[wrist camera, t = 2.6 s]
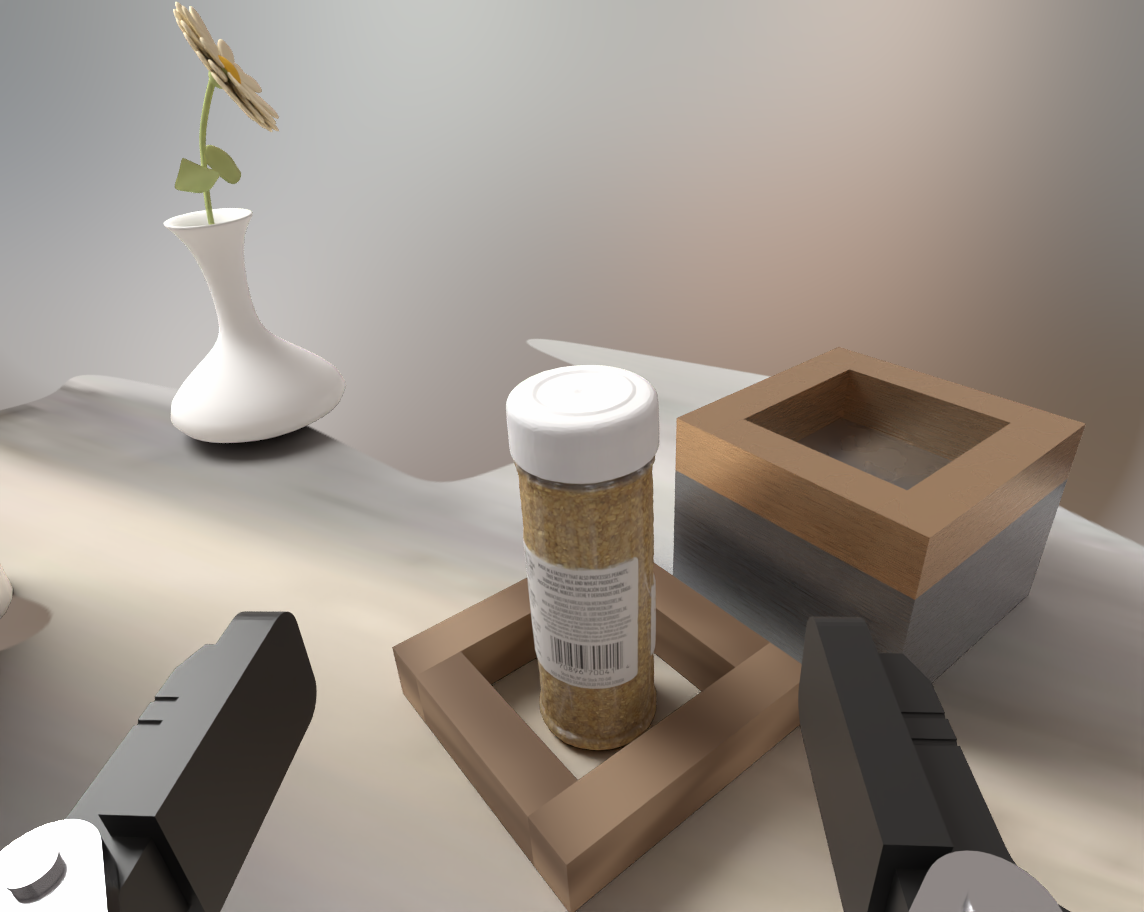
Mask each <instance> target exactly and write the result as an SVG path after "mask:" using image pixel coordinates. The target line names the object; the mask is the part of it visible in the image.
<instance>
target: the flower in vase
mask: <svg viewBox="0 0 1144 912" xmlns="http://www.w3.org/2000/svg"><path fill="white" fill-rule="evenodd" d="M175 5H176V9H173V12H174V15H175V17H176V22H177V24H178V25H179V27H180V29H181V31H182V32H183V34H184V36H185V38H186V40H187V41H188V43H189V44H190V46H191V47H192V49H193V50H194V51H195V52H196V54H197V55H198V57H199V59H200V60H201V61H202V63H203V64H204V65H205V66H206V68H207V69H208V70H209V82H208V86H207V90H206V94H205V99H204V104H203V110H202V116H201V123H200V157H201V166H200V165H198V164H195V163H193V162H191V161H189V160H187V159H184V158H182V160H181V165H180V169H179V173H178V177H177V179H176V182H175V188H176V189H177V190H180V191H187V192H194V193H202V192H204V200H205V207H206V210H205V211H198V212H192V213H187V214H184V215H179V216H176V217H173V218H171V219H168V220H167V221H165V222H164V225H165V227H166V228H167V229H169V230H170V231H171V232H172V233H174V234H175V235H176V236H177V237H178V238H179V239H180V240H181V241H182V242H183V243H184V244H185V245H186V247H187V248H188V249H189V251H190V252H191V253H192V254H193V256H194V258H195V260H196V261H197V263H198V265H199V267H200V269H201V271H202V273H203V275H204V277H205V280H206V282H207V284H208V287H209V289H210V292H211V295H212V298H213V301H214V303H215V307H216V312H217V315H218V320H219V334H218V339H217V341H216V343H215V345H214V347H213V348H212V350H211V351H210V352H209V353H208V355H207V356H206V357H205V358H204V359H203V360H202V362H201V363H200V364H199V365H198V366H197V367H196V368H195V370H194V371H193V372H192V373H191V374H190V375H189V377H188V378H187V379H186V380H185V381H184V383H183V384H182V386H181V387H180V389H179V391H178V392H177V394H176V396H175V397H174V399H173V401H172V405H171V421H172V424H173V425H174V426H175V427H176V428H177V429H179V430H180V431H182V432H183V433H185V434H186V435H188V436H189V437H192V438H194V439H197V440H201V441H206V442H214V443H237V442H249V441H258V440H264V439H269V438H273V437H277V436H280V435H283V434H286V433H289V432H292V431H295V430H298V429H300V428H302V427H305V426H307V425H309V424H311V423H313V422H315V421H317V420H319V419H320V418H322V417H324V416H325V415H326V414H328V413H329V412H330V411H332V410H333V409H334V408H335V407H336V406H337V404H338V403H339V402H340V399H341V397H342V395H343V393H344V390H345V387H346V383H345V380H344V378H343V377H342V375H341V374H340V372H339V371H338V369H337V368H336V367H335V366H334V365H332V364H331V363H329V362H328V361H326V360H324V359H323V358H321V357H320V356H318V355H316V354H314V353H312V352H310V351H308V350H306V349H303V348H301V347H299V346H297V345H294V344H292V343H290V342H287V341H285V340H283V339H281V338H279V337H277V336H275V335H274V334H272V333H271V332H269V331H268V330H267V329H266V328H265V327H264V326H263V324H261V322H260V320H259V318H258V316H257V314H256V312H255V309H254V306H253V303H252V300H251V296H250V292H249V287H248V283H247V278H246V271H245V264H244V240H245V234H246V230H247V226H248V224H249V222H250V219H251V217H252V213H253V212H252V211H250V210H247V209H240V208H224V209H212V206H211V200H210V192H209V190H210V189H211V188H212V187H213V185H214V184H215V182H216V181H217V179H218V178H219V176H220V177H222V178H223V179H224V180H225V181H227V182H228V183H231V184H235V183H237V182H238V181H239V180H240V177H241V172H240V170H239V169H238V168H237V166H236V164H235V162H234V161H233V159H232V158H231V157H230V156H229V155H228V154H227V153H226V152H225V151H223V150H221V149H220V148H217V147H215V146H212V145H207V146H206V127H207V120H208V114H209V109H210V104H211V99H212V95H213V91H214V87H218V88H221V89H224V90H225V92H226V93H227V94H228V95H229V96H230V97H231V98H232V99H233V101H234V102H236V104H237V105H238V106H239V107H240V108H241V109H242V111H243V112H244V113H246V115H247V116H248V117H249V118H250V119H252V120H253V121H256V122H257V123H258V124H259V125H260V126H261V127H263V128H265V129H267V130H268V131H270V132H272V129H274V130H276V131H279V130H278V128H277V126H276V125H275V124H276V121H275V120H274V119H273V118H272V116H273V117H274V118H277V119H278V118H279V117H278V115H277V113H276V112H275V111H274V110H273V108H272V107H271V106H270V105H268V104H267V103H266V102H265V101H264V100H263V99H262V98H261V97H260V96H258V95H257V94H256V93H255V92H257V93H260V92H262V89H261V87H260V86H259V84H258V83H257V82H256V81H255V80H254V79H253V78H252V77H251V76H249V75H247V74H245V73H244V72H243V70H242V69H241V68H240V66H239V65H237V64H236V63H234V56H233V53H232V51H231V49H230V47H229V46H228V45H227V44H226V43H225V42H224V41H223V40H222V39H219V40H218V47H217V46H216V45H215V43H214V41H213V39H212V37H211V35H210V33H209V31H208V30H207V28H206V26H205V24H204V22H203V21H202V19H201V17H200V16H199V14H198V13H197V11H196V10H195V9H194V8H193V7H191V6H190V7H189V10H190V12H189V11H188V10H187V9H186V8H185V7H184V6H181V4H179V2H175ZM190 13H191V14H190ZM207 164H208V165H209V166H210V167H211V168H212V169H213V170H212V169H208V168H207Z"/></svg>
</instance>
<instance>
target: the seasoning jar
mask: <svg viewBox="0 0 1144 912" xmlns="http://www.w3.org/2000/svg"><path fill="white" fill-rule="evenodd" d="M506 414H507V426H508V437H509V446H510V453H511V456H512V458H513V459H514V463H515V466H516V469H517V471H518V475H519V488H520V497H521V508H522V515H523V527H524V529H523V541H524V551H525V560H526V570H527V579H528V589H529V599H530V609H531V618H532V627H533V635H534V644H535V651H536V655H537V658H538V665H539V671H540V685H541V692H540V696H539V700H540V713H541V715H542V717H543V720H544V722H545V724H546V725H547V726H548V728H549V729H550V731H551V732H552V733H553V734H555V735H556V736H557V737H558V738H559V739H561V740H562V741H563V742H565V743H568V744H570V745H572V746H575V747H579V748H586V749H590V750H605V749H613V748H617V747H620V746H623V745H626V744H628V743H630V742H631V741H633V740H634V739H635V738H637V737H638V736H640V735H641V734H642V733H643V732H644V731H645V730H646V729H648V727H649V726H650V724H651V722H652V720H653V717H654V714H655V711H656V695H657V694H656V689H655V686H654V655H653V652H654V649H655V642H656V582H655V576H654V573H653V566H654V561H653V556H654V548H653V546H654V534H653V530H654V528H653V522H654V514H653V478H652V467H653V466H652V465H653V464H654V461H655V454H656V452H657V450H658V447H659V406H658V395H657V392H656V390H655V388H654V387H653V386H652V384H651V383H650V382H649V381H647V380H646V379H645V378H643V377H641V376H639V375H638V374H635V373H633V372H630V371H628V370H624V369H620V368H616V367H609V366H599V365H579V366H568V367H562V368H556V369H552V370H548V371H544V372H541V373H539V374H536V375H534V376H532V377H530V378H528V379H526V380H524V381H523V382H521V383H520V384H518V385H517V386H516V387H515V388H514V389H513V391H512V392H511V393H510V395H509V397H508V400H507V403H506Z"/></svg>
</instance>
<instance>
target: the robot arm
mask: <svg viewBox="0 0 1144 912" xmlns="http://www.w3.org/2000/svg"><path fill="white" fill-rule="evenodd" d="M12 593H13V588H12V586H11V583H10V581H9V579H8V577H7V575H6V574H5V572H4V570H3V568H2V566H1V564H0V619H1V618H2V617H3V615H4V614H5V613H6V611H7V609H8V607H9V604H10V603H11V600H12ZM316 692H317V691H316V681H315V677H314V674H313V671H312V668H311V665H310V662H309V658H308V655H307V652H306V649H305V646H304V643H303V639H302V636H301V633H300V630H299V627H298V624H297V621H296V619H295V617H294V615H293V614H292V613H290V612H241V613H239V614H237V615H236V616H235V617H234V619H233V620H232V621H231V623H230V624H229V626H228V627H227V629H226V630H225V631H224V633H223V634H222V636H221V637H220V639H219V640H218V642H217V643H216V644H205V645H204V646H203V647H201V648H200V649H199V650H198V651H196V652H195V653H194V654H193V655H191V656H190V657H189V658H188V659H187V660H185V661H184V662H183V663H182V664H180V665H179V666H178V667H177V668H175V670H174V671H173V672H172V674H171V675H170V676H169V678H168V679H167V681H166V682H165V683H164V685H163V686H162V687H161V689H160V690H159V692H158V693H157V694H156V696H155V701H154V702H150V704H149V705H148V707H147V708H146V709H145V711H144V712H143V713H142V715H141V716H140V718H139V719H138V724H137V726H133V727H132V729H131V730H130V731H129V733H128V734H127V735H126V737H125V738H124V739H123V741H122V742H121V744H120V745H119V746H118V748H117V749H116V750H115V752H114V753H113V755H112V756H111V757H110V759H109V760H108V761H107V763H106V764H105V766H104V767H103V768H102V770H101V771H100V772H99V774H98V775H97V776H96V778H95V779H94V781H93V782H92V783H91V785H90V786H89V787H88V789H87V790H86V792H85V793H84V794H83V796H82V797H81V798H80V800H79V801H78V802H77V804H76V805H75V807H74V808H73V809H72V811H71V812H70V813H69V815H68V816H67V817H66V818H65V820H61V821H56V822H53V823H49V824H46V825H43V826H41V827H39V828H36V829H34V830H32V831H30V832H28V833H26V834H24V835H23V836H21V837H20V838H18V839H17V840H15V841H14V842H12V843H11V844H10V845H8V846H7V847H6V848H4V849H3V850H2V851H1V852H0V912H220V911H221V909H222V907H223V905H224V902H225V900H226V898H227V896H228V894H229V892H230V890H231V888H232V886H233V884H234V881H235V879H236V877H237V875H238V873H239V871H240V869H241V867H242V865H243V863H244V860H245V858H246V856H247V854H248V852H249V850H250V848H251V846H252V844H253V842H254V839H255V837H256V835H257V833H258V831H259V829H260V827H261V825H262V823H263V821H264V818H265V816H266V814H267V812H268V810H269V808H270V806H271V804H272V802H273V800H274V797H275V795H276V793H277V791H278V789H279V787H280V785H281V783H282V781H283V779H284V776H285V774H286V772H287V770H288V768H289V766H290V764H291V762H292V760H293V758H294V755H295V753H296V751H297V749H298V747H299V745H300V743H301V741H302V739H303V737H304V734H305V732H306V730H307V728H308V726H309V724H310V722H311V719H312V717H313V713H314V709H315V704H316ZM798 708H799V719H800V726H801V732H802V736H803V741H804V745H805V749H806V753H807V758H808V762H809V766H810V770H811V775H812V779H813V783H814V787H815V792H816V796H817V800H818V804H819V808H820V813H821V817H822V821H823V825H824V830H825V834H826V838H827V842H828V847H829V851H830V855H831V859H832V864H833V868H834V872H835V876H836V881H837V885H838V889H839V893H840V897H841V902H842V906H843V910H844V912H1070V911H1068V910H1067V909H1065V908H1063V907H1062V906H1060V905H1059V904H1057V902H1056V901H1055V899H1054V898H1053V897H1052V896H1051V894H1050V893H1049V892H1048V891H1047V890H1046V889H1045V888H1044V887H1043V886H1042V885H1041V884H1040V883H1039V882H1038V881H1037V880H1036V879H1035V878H1034V877H1032V876H1031V875H1030V874H1028V873H1027V872H1026V871H1024V870H1023V869H1021V868H1020V867H1018V866H1017V865H1016V864H1015V862H1014V861H1013V859H1012V858H1011V856H1010V854H1009V852H1008V850H1007V849H1006V847H1005V844H1004V842H1003V840H1002V838H1001V836H1000V833H999V831H998V829H997V827H996V825H995V822H994V820H993V818H992V816H991V814H990V811H989V809H988V807H987V805H986V803H985V800H984V798H983V796H982V794H981V792H980V789H979V787H978V785H977V783H976V781H975V778H974V776H973V774H972V772H971V770H970V767H969V765H968V763H967V761H966V759H965V756H964V754H963V752H962V750H961V748H960V746H957V739H956V737H955V734H954V732H953V730H952V728H951V726H950V723H949V721H948V719H945V715H944V714H945V712H944V710H943V708H942V706H941V704H940V701H939V699H938V697H937V695H936V692H935V690H934V688H933V686H932V684H931V681H930V680H929V679H928V678H927V677H926V676H925V675H924V674H923V673H922V672H921V671H920V670H919V669H918V668H917V667H916V666H915V665H914V664H913V663H912V662H911V661H910V660H909V659H908V658H907V657H906V656H905V655H904V654H903V653H878V652H877V649H876V647H875V644H874V642H873V639H872V637H871V634H870V631H869V629H868V626H867V624H866V622H865V620H864V619H863V618H862V617H809V619H808V622H807V626H806V634H805V642H804V650H803V658H802V666H801V674H800V682H799V691H798Z"/></svg>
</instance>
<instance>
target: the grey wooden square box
mask: <svg viewBox="0 0 1144 912" xmlns="http://www.w3.org/2000/svg"><path fill="white" fill-rule="evenodd" d="M1085 425H1086V424H1084V423H1082V422H1078V421H1075V420H1072V419H1069V418H1065V417H1062V416H1059V415H1056V414H1053V413H1049V412H1046V411H1043V410H1040V409H1037V408H1033V407H1030V406H1027V405H1024V404H1020V403H1017V402H1014V401H1010V400H1008V399H1004V398H1001V397H998V396H995V395H992V394H988V393H985V392H982V391H979V390H975V389H972V388H969V387H966V386H963V385H959V384H956V383H953V382H950V381H947V380H943V379H940V378H937V377H934V376H931V375H927V374H924V373H921V372H917V371H914V370H911V369H908V368H905V367H902V366H898V365H895V364H892V363H889V362H886V361H882V360H879V359H876V358H873V357H869V356H866V355H863V354H860V353H857V352H853V351H850V350H846V349H844V348H840V347H838V348H835V349H833V350H831V351H829V352H826V353H824V354H822V355H819V356H817V357H815V358H813V359H810V360H808V361H806V362H803V363H801V364H799V365H797V366H795V367H792V368H790V369H788V370H785V371H783V372H781V373H778V374H776V375H774V376H772V377H769V378H767V379H765V380H763V381H760V382H758V383H756V384H753V385H751V386H749V387H747V388H744V389H742V390H740V391H738V392H735V393H733V394H731V395H728V396H726V397H724V398H722V399H719V400H717V401H715V402H712V403H710V404H708V405H706V406H703V407H701V408H699V409H697V410H694V411H692V412H690V413H687V414H685V415H683V416H681V417H678V418H677V432H676V474H675V517H674V560H673V576H674V577H676V578H677V579H678V580H680V581H681V582H683V583H684V584H686V585H687V586H689V587H690V588H692V589H693V590H694V591H696V592H697V593H699V594H700V595H702V596H703V597H705V598H706V599H708V600H709V601H710V602H712V603H713V604H715V605H716V606H718V607H719V608H721V609H722V610H724V611H725V612H727V613H728V614H729V615H731V616H732V617H734V618H735V619H737V620H738V621H740V622H741V623H743V624H744V625H745V626H747V627H748V628H750V629H751V630H753V631H754V632H756V633H757V634H759V635H760V636H762V637H763V638H764V639H766V640H767V641H769V642H770V643H772V644H773V645H775V646H776V647H778V648H779V649H780V650H782V651H783V652H785V653H786V654H788V655H789V656H791V657H792V658H794V659H795V660H796V661H798V662H799V663H801V664H802V658H803V650H804V642H805V634H806V626H807V622H808V619H809V617H862V618H863V619H864V620H865V622H866V624H867V626H868V629H869V631H870V634H871V637H872V639H873V642H874V644H875V647H876V649H877V652H878V653H903V654H904V655H905V656H906V657H907V658H908V659H909V660H910V661H911V662H912V663H913V664H914V665H915V666H916V667H917V668H918V669H919V670H920V671H921V672H922V673H923V674H924V675H925V676H926V677H927V678H928V679H929V680H930V681H931V683H932V682H933V681H934V680H935V679H937V678H938V677H939V676H940V675H941V674H942V673H943V672H944V671H945V670H946V669H947V668H949V667H950V666H951V665H952V664H953V663H954V662H955V661H956V660H957V659H958V658H959V657H961V656H962V655H963V654H964V653H965V652H966V651H967V650H968V649H969V648H970V647H971V646H973V645H974V644H975V643H976V642H977V641H978V640H979V639H980V638H981V637H982V636H984V635H985V634H986V633H987V632H988V631H989V630H990V629H991V628H992V627H993V626H994V625H996V624H997V623H998V622H999V621H1000V620H1001V619H1002V618H1003V617H1004V616H1005V615H1006V614H1008V613H1009V612H1010V611H1011V610H1012V609H1013V608H1014V607H1015V606H1016V605H1017V604H1018V603H1020V602H1021V601H1022V600H1023V599H1024V598H1025V597H1026V596H1027V595H1028V594H1029V591H1030V589H1031V586H1032V583H1033V580H1034V577H1035V574H1036V571H1037V568H1038V565H1039V562H1040V559H1041V556H1042V553H1043V550H1044V547H1045V544H1046V541H1047V538H1048V535H1049V532H1050V529H1051V526H1052V523H1053V520H1054V517H1055V514H1056V511H1057V508H1058V505H1059V502H1060V499H1061V496H1062V493H1063V490H1064V487H1065V484H1066V482H1067V479H1068V475H1069V472H1070V469H1071V467H1072V464H1073V460H1074V458H1075V455H1076V452H1077V449H1078V446H1079V443H1080V440H1081V437H1082V434H1083V431H1084V428H1085Z"/></svg>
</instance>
